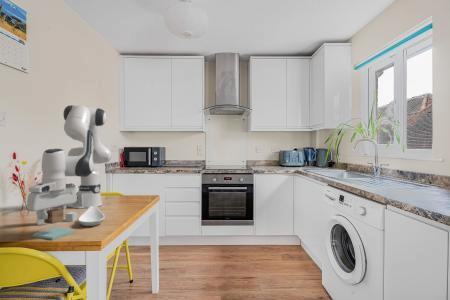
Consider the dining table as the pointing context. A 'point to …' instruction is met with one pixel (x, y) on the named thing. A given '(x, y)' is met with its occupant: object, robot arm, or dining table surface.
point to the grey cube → (71, 216)
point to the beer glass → (41, 218)
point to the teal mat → (53, 233)
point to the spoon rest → (91, 217)
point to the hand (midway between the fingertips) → (53, 217)
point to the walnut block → (54, 216)
